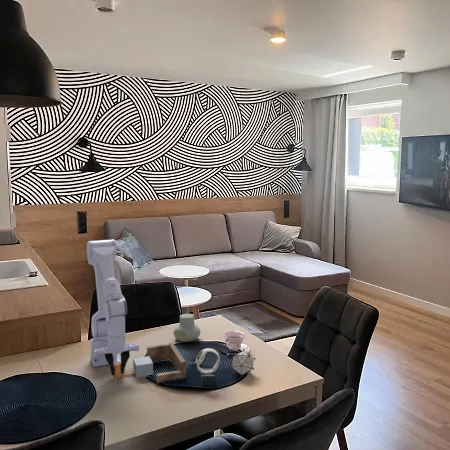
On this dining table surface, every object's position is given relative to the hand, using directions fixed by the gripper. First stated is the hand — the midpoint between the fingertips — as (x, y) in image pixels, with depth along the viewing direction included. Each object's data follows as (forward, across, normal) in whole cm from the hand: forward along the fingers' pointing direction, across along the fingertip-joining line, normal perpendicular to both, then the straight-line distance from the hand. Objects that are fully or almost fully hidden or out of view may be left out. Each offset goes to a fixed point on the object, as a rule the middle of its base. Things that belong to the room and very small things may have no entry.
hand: (117, 373), depth 157 cm
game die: (+2, +40, -12) cm, 42 cm away
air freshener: (+2, +32, +25) cm, 40 cm away
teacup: (+2, +46, +8) cm, 46 cm away
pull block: (+1, +5, 0) cm, 5 cm away
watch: (+2, +28, -13) cm, 30 cm away
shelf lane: (+1, +16, 0) cm, 17 cm away
